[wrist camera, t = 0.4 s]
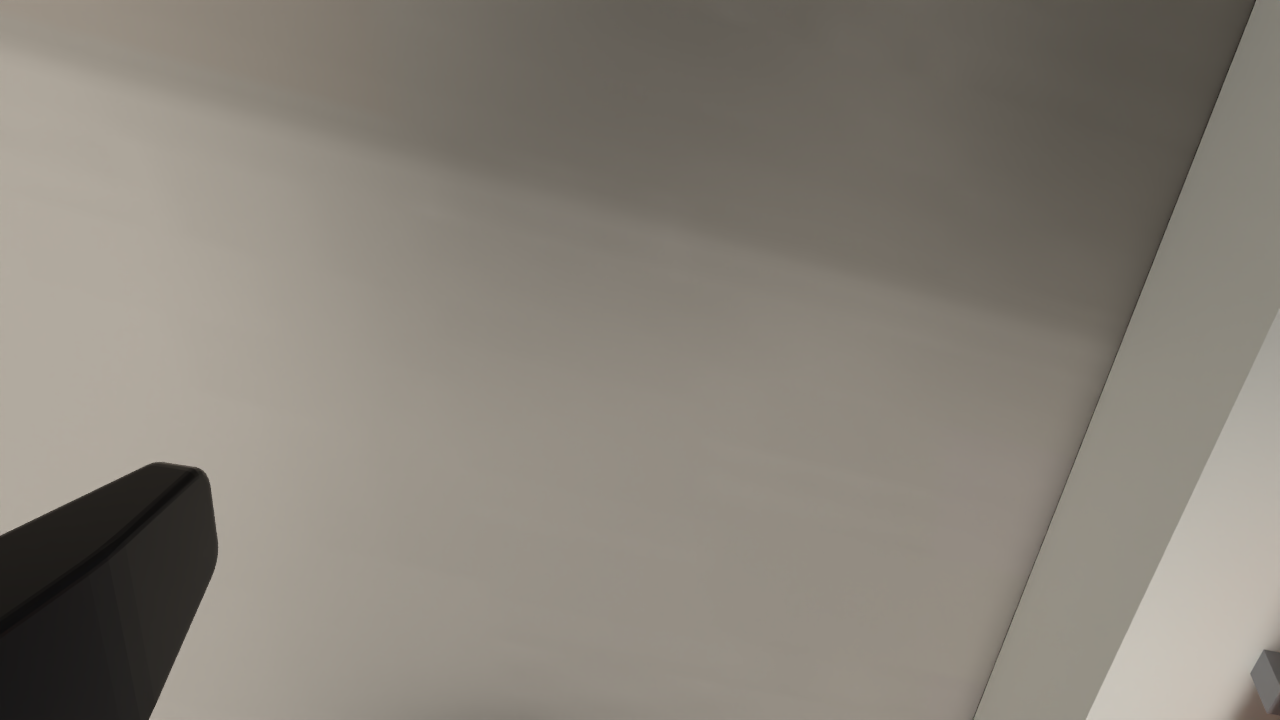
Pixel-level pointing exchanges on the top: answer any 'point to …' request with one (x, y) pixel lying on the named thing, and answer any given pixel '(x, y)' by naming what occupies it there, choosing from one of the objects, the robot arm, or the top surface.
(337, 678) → the top surface
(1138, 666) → the power strip
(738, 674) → the top surface
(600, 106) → the top surface
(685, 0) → the top surface
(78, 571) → the robot arm
